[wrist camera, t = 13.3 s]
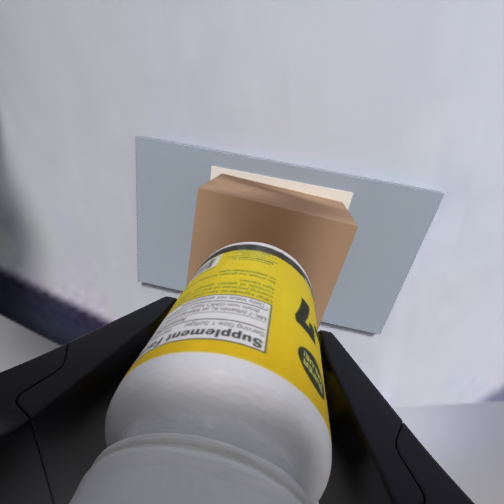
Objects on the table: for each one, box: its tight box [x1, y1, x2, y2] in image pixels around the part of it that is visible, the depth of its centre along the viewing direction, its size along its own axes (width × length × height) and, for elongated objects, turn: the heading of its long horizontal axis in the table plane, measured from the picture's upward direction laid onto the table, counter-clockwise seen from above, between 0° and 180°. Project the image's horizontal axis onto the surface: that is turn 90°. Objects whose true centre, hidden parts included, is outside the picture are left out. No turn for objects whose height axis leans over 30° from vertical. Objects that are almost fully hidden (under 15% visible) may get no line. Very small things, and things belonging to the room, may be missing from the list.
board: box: [136, 136, 444, 334], centre depth 16 cm, size 16×9×1 cm, turn 81°
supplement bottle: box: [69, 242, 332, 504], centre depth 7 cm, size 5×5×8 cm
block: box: [186, 174, 358, 330], centre depth 14 cm, size 6×6×4 cm
